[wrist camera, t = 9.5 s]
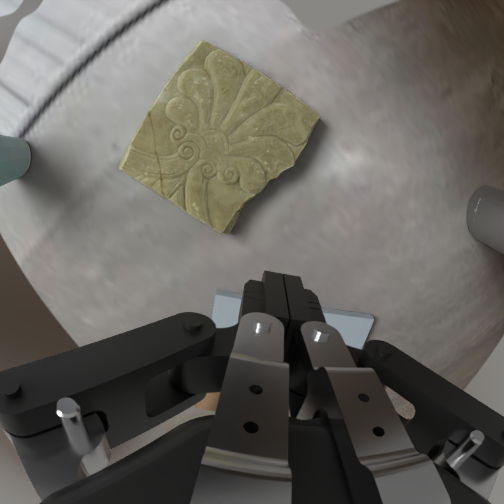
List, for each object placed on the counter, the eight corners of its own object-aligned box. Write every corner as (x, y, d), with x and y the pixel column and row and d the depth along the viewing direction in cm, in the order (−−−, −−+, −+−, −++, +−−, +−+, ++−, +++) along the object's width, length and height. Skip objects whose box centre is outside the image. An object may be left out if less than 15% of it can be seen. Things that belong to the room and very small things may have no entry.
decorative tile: (123, 166, 37) (112, 168, 34) (205, 43, 32) (200, 34, 28) (234, 240, 41) (232, 249, 37) (324, 119, 35) (330, 117, 32)
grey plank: (371, 314, 44) (374, 319, 42) (342, 379, 48) (343, 385, 47) (216, 289, 43) (215, 294, 41) (206, 362, 47) (205, 368, 46)
